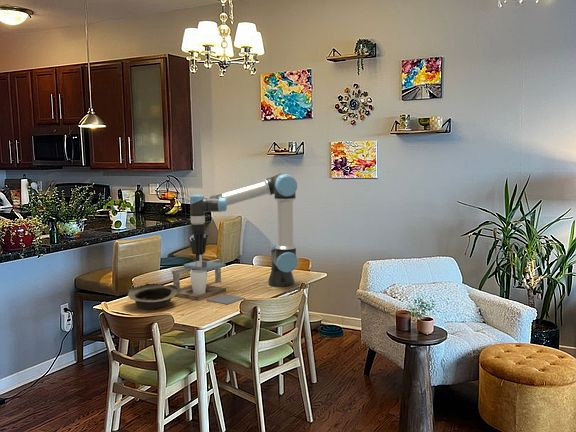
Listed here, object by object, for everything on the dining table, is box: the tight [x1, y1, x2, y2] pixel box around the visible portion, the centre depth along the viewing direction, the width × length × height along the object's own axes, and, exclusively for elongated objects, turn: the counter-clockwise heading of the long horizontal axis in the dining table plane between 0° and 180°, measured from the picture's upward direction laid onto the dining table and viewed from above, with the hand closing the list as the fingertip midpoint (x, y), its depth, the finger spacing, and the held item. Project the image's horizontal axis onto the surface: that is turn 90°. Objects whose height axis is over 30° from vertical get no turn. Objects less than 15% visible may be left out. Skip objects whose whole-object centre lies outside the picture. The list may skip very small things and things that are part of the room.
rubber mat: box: [206, 293, 246, 305], centre depth 287 cm, size 14×14×1 cm
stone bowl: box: [127, 283, 178, 311], centre depth 277 cm, size 25×25×9 cm
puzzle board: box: [171, 258, 227, 302], centre depth 307 cm, size 22×39×14 cm, turn 146°
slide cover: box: [183, 260, 227, 272], centre depth 304 cm, size 18×14×4 cm
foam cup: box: [189, 269, 208, 295], centre depth 297 cm, size 10×9×13 cm
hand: (199, 266), depth 296 cm, fingers closed
